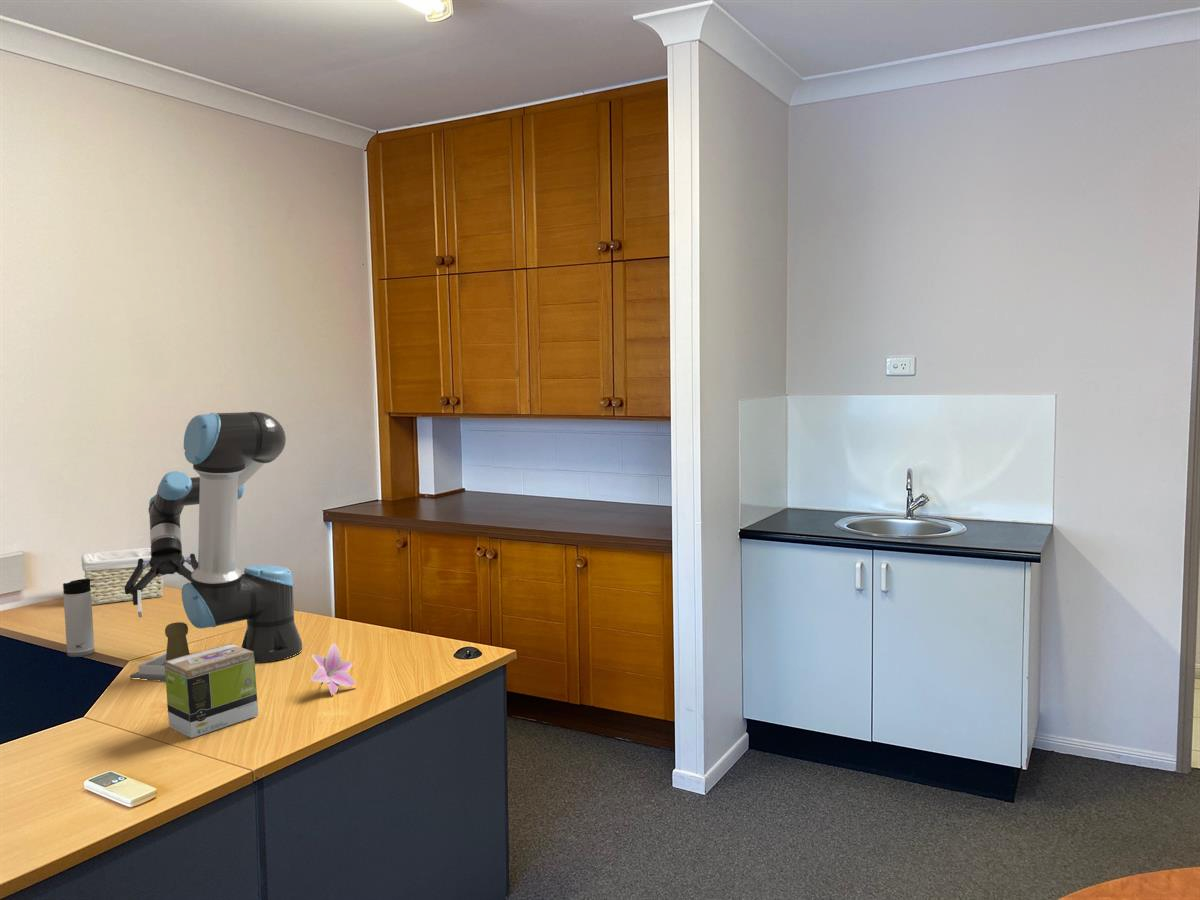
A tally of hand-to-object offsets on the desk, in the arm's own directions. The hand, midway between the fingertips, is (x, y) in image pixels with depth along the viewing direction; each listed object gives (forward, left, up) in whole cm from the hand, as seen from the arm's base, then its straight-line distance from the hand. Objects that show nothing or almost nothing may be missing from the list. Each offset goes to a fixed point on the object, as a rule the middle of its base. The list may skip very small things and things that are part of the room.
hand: (169, 611), depth 228 cm
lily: (-52, +14, -13) cm, 55 cm away
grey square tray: (-6, +8, -13) cm, 17 cm away
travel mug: (+27, -1, -13) cm, 30 cm away
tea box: (-35, +35, -13) cm, 52 cm away
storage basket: (+55, -54, -13) cm, 78 cm away
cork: (-7, +8, -12) cm, 16 cm away
